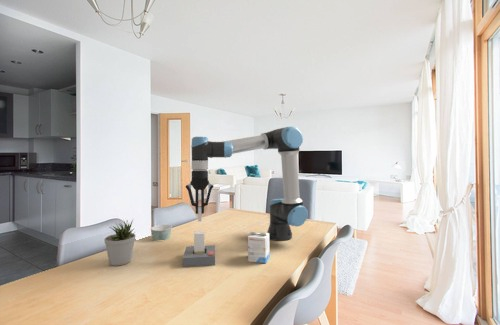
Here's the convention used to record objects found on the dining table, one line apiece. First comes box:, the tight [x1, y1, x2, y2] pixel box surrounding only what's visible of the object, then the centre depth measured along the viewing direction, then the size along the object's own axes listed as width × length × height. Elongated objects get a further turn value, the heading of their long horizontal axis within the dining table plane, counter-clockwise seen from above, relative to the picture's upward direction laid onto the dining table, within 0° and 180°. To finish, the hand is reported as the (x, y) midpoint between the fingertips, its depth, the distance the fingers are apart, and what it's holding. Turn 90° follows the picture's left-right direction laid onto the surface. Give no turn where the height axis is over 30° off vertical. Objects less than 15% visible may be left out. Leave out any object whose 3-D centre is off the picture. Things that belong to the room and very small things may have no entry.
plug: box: [193, 230, 206, 254], centre depth 116 cm, size 4×4×12 cm
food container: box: [150, 224, 173, 241], centre depth 147 cm, size 12×12×6 cm
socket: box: [182, 244, 216, 268], centre depth 116 cm, size 14×14×5 cm
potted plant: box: [104, 219, 137, 267], centre depth 113 cm, size 13×14×20 cm
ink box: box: [247, 231, 271, 264], centre depth 117 cm, size 9×8×13 cm
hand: (199, 220), depth 116 cm, fingers closed
